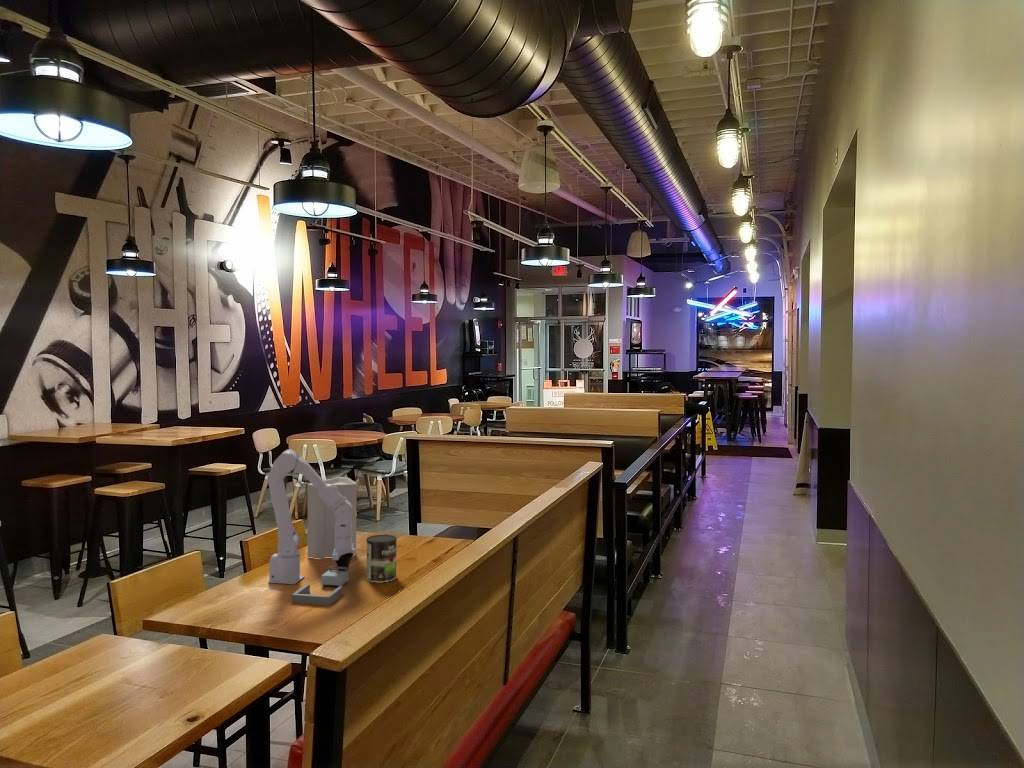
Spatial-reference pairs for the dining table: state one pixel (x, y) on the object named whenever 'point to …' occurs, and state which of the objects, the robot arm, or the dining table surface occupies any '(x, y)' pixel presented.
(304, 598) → the bay
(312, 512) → the tall upright grey box
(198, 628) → the dining table surface
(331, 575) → the box with handle
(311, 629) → the dining table surface
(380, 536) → the coffee can
